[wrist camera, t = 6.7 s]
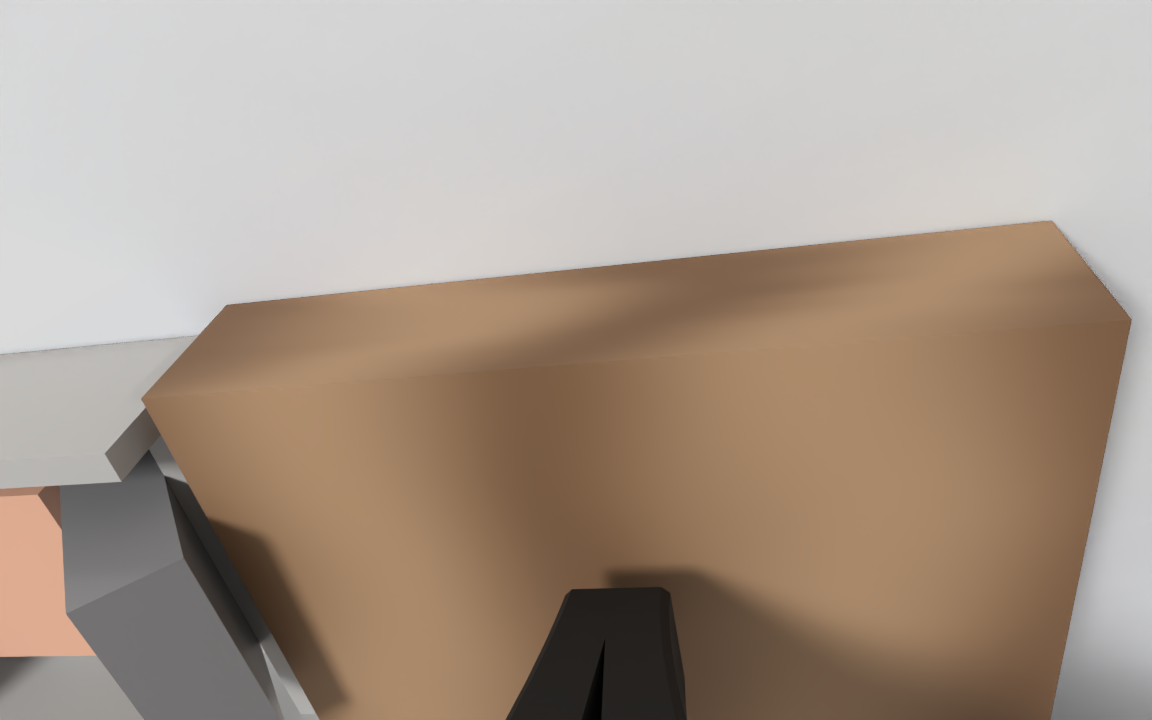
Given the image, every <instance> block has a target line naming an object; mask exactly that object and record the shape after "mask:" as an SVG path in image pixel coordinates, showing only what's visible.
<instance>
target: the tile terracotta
mask: <svg viewBox="0 0 1152 720" xmlns="http://www.w3.org/2000/svg"><path fill="white" fill-rule="evenodd" d="M25 656H97V655H96V654H95V653H94V651H93V650H92V649H91V647H90V646H89V644H88V643H87V642H86V640H85V639H84V638H83V636H82V635H81V634H80V632H79V631H78V630H77V628H76V627H75V626H74V624H73V623H72V621H71V620H70V619H69V617H68V616H67V615H66V608H65V587H64V566H63V546H62V525H61V505H60V485H58V486H41V487H23V488H6V489H0V657H25Z"/></svg>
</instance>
